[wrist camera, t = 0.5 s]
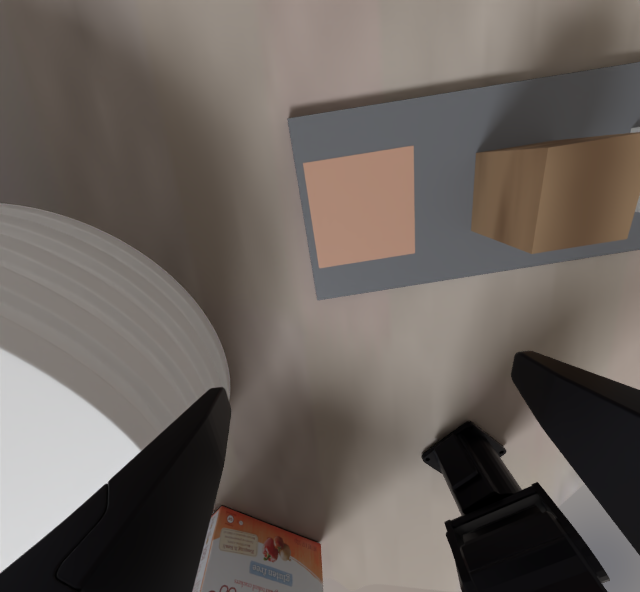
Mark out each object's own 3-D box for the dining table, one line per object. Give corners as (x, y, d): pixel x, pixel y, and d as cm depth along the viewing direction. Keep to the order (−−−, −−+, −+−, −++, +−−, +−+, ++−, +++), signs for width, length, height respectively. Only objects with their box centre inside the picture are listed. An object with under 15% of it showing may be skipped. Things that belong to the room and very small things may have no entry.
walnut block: (553, 140, 19) (658, 130, 13) (541, 219, 21) (627, 239, 15) (475, 153, 19) (548, 147, 13) (470, 230, 21) (531, 254, 15)
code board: (744, 46, 18) (759, 42, 17) (675, 240, 23) (685, 242, 22) (287, 120, 18) (287, 118, 17) (317, 297, 23) (317, 300, 22)
